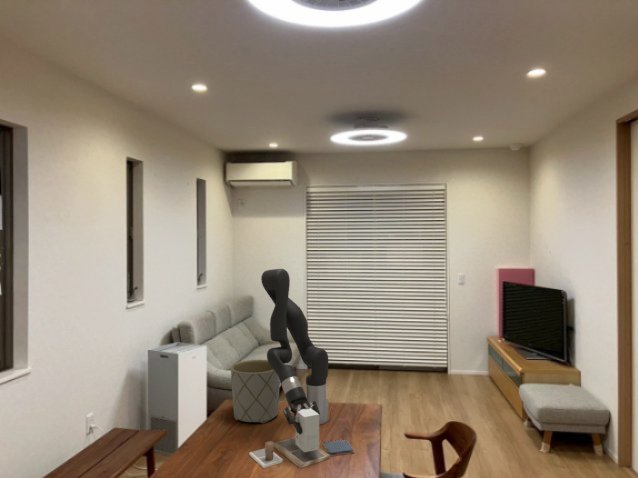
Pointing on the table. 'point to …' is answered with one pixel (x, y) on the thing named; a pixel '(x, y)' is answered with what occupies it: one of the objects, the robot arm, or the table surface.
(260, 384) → the planter
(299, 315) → the robot arm
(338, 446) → the woven mat
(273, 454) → the plate
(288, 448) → the board
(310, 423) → the small box
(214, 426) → the table surface
